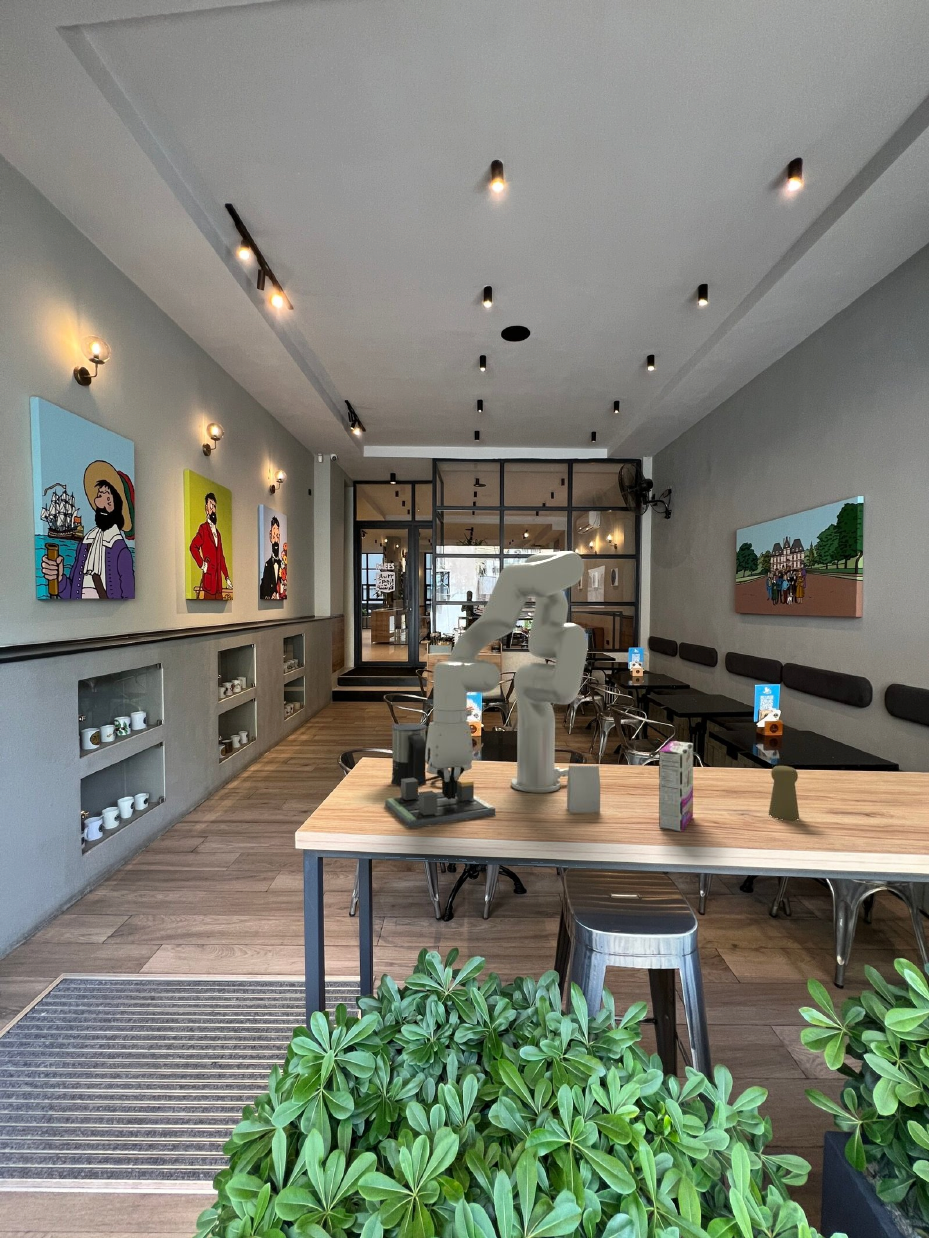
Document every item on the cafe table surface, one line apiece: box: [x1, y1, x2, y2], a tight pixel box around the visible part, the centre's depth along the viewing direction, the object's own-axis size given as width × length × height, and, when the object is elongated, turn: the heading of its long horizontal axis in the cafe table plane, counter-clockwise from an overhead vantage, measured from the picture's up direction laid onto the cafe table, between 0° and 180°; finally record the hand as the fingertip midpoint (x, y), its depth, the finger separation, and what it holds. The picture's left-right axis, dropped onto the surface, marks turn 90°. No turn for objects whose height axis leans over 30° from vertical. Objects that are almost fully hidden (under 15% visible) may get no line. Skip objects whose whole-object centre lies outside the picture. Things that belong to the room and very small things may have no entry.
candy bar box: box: [658, 740, 694, 833], centre depth 129 cm, size 11×5×16 cm, turn 148°
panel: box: [384, 791, 496, 829], centre depth 136 cm, size 20×16×2 cm
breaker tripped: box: [456, 777, 475, 801], centre depth 138 cm, size 3×3×4 cm
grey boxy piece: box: [566, 765, 601, 814], centre depth 137 cm, size 4×7×10 cm, turn 91°
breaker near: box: [418, 790, 437, 815], centre depth 128 cm, size 3×3×4 cm
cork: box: [768, 765, 800, 822], centre depth 134 cm, size 6×6×11 cm
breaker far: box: [400, 778, 419, 800], centre depth 138 cm, size 3×3×4 cm
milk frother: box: [390, 722, 450, 787], centre depth 158 cm, size 14×16×15 cm
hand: (449, 797), depth 137 cm, fingers closed
